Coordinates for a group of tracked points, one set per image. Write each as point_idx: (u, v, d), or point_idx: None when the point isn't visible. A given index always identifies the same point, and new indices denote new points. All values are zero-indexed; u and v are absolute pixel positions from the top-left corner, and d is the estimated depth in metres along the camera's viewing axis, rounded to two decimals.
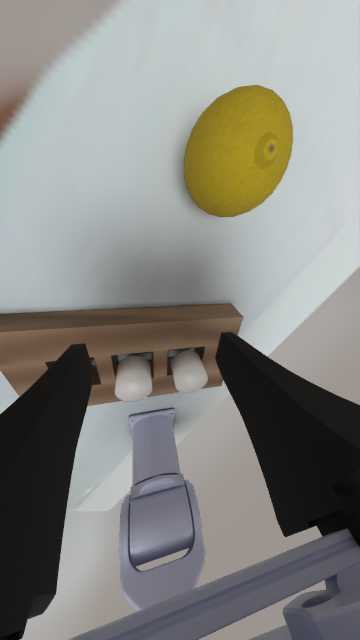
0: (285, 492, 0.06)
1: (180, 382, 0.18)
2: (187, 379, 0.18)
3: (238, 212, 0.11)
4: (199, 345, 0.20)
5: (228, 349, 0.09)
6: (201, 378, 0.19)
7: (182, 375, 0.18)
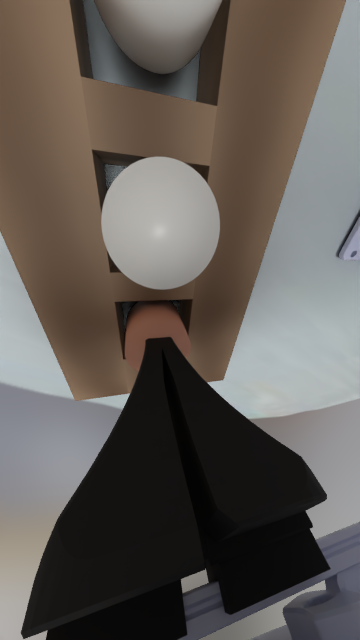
0: None
1: None
2: None
3: None
4: None
5: (161, 356, 0.08)
6: None
7: None
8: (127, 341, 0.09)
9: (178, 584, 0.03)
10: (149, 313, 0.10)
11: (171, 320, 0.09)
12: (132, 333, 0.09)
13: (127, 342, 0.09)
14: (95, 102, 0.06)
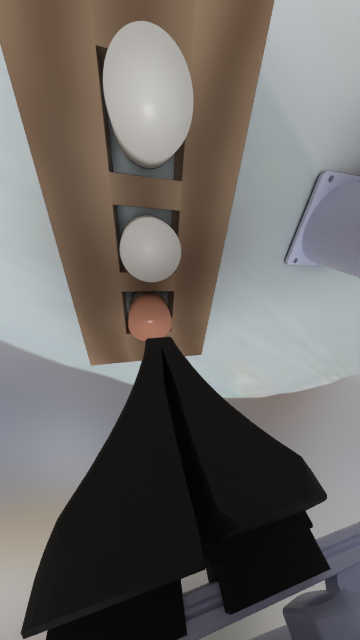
0: None
1: (143, 140, 0.08)
2: (136, 116, 0.07)
3: None
4: (93, 69, 0.08)
5: (161, 356, 0.08)
6: (138, 55, 0.07)
7: (119, 134, 0.07)
8: (130, 316, 0.14)
9: (178, 584, 0.03)
10: (144, 299, 0.15)
11: (158, 304, 0.14)
12: (133, 311, 0.14)
13: (130, 317, 0.14)
14: (115, 182, 0.11)
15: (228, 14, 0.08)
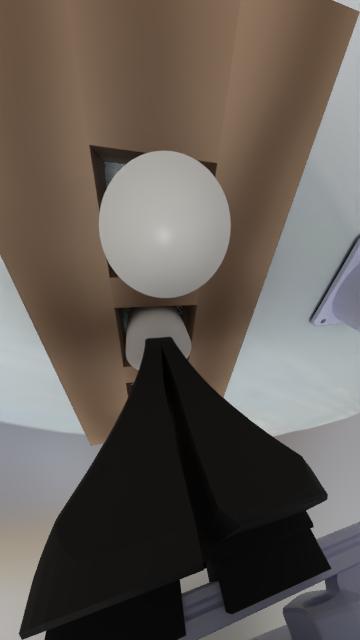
0: None
1: (157, 282, 0.05)
2: (148, 259, 0.05)
3: None
4: (87, 173, 0.06)
5: (162, 356, 0.08)
6: (153, 192, 0.04)
7: (123, 279, 0.05)
8: None
9: (177, 585, 0.03)
10: None
11: None
12: None
13: None
14: (118, 287, 0.08)
15: (274, 93, 0.06)
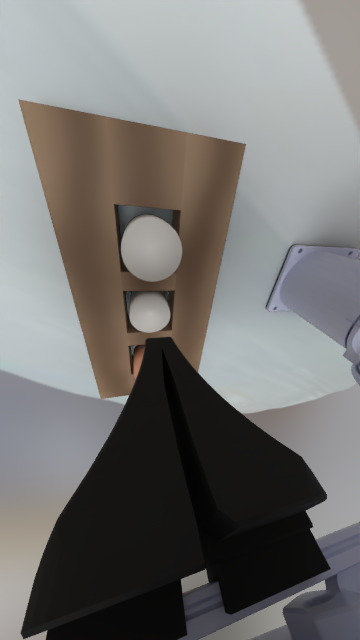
0: None
1: (147, 273, 0.11)
2: (142, 261, 0.11)
3: None
4: (111, 216, 0.12)
5: (161, 356, 0.08)
6: (144, 233, 0.10)
7: (130, 271, 0.11)
8: (135, 367, 0.17)
9: (178, 584, 0.03)
10: None
11: None
12: (138, 363, 0.17)
13: (135, 368, 0.17)
14: (125, 277, 0.14)
15: (208, 178, 0.12)
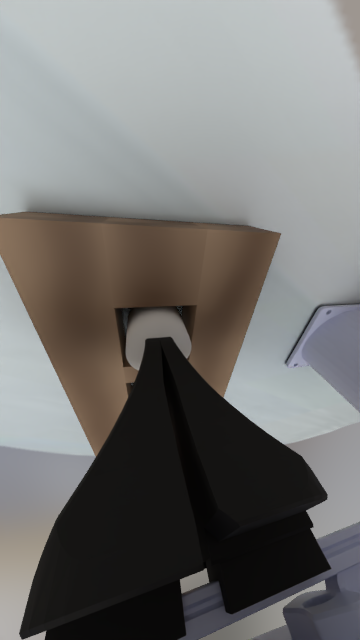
0: None
1: None
2: None
3: None
4: (112, 320, 0.09)
5: (162, 356, 0.08)
6: None
7: (136, 368, 0.10)
8: None
9: (177, 584, 0.03)
10: None
11: None
12: None
13: None
14: (129, 371, 0.12)
15: (231, 271, 0.09)
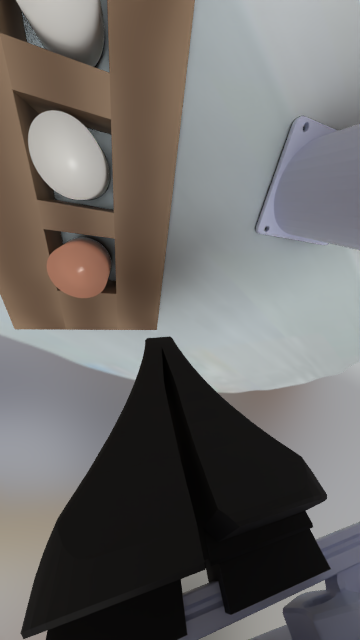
0: None
1: (38, 0, 0.07)
2: None
3: None
4: None
5: (161, 356, 0.08)
6: None
7: None
8: (48, 258, 0.11)
9: (178, 584, 0.03)
10: (72, 242, 0.12)
11: (88, 247, 0.12)
12: (53, 251, 0.11)
13: (48, 259, 0.11)
14: (12, 53, 0.08)
15: None
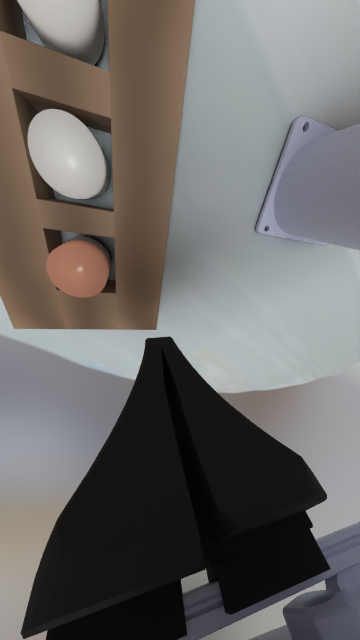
0: None
1: None
2: None
3: None
4: None
5: (161, 356, 0.08)
6: None
7: None
8: (48, 258, 0.11)
9: (178, 584, 0.03)
10: (72, 241, 0.12)
11: (88, 247, 0.12)
12: (52, 251, 0.11)
13: (48, 258, 0.11)
14: (12, 51, 0.08)
15: None
